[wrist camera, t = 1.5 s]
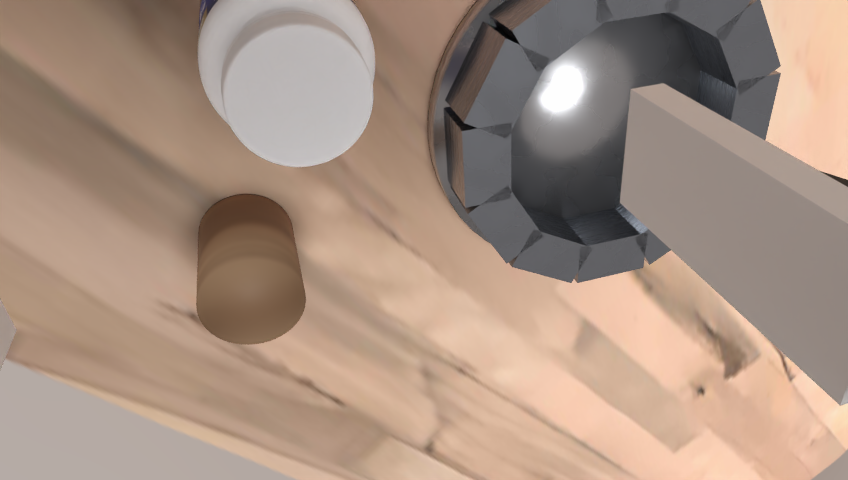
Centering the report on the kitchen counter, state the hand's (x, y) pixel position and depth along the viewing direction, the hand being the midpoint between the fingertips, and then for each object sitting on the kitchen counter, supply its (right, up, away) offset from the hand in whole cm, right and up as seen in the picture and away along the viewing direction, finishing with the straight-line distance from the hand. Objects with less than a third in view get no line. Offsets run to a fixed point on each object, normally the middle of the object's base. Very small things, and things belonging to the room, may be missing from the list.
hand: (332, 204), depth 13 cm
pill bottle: (-4, +8, +11) cm, 14 cm away
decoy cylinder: (-6, 0, +16) cm, 17 cm away
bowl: (+9, +5, +17) cm, 20 cm away
